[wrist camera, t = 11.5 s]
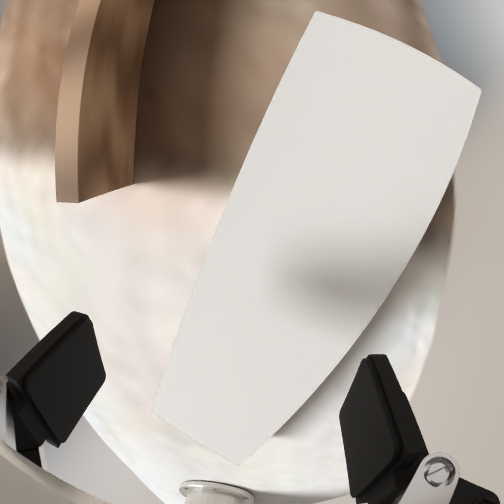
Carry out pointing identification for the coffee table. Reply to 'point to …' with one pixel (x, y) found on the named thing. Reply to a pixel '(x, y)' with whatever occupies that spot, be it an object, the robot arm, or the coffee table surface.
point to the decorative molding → (313, 231)
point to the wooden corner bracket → (100, 98)
